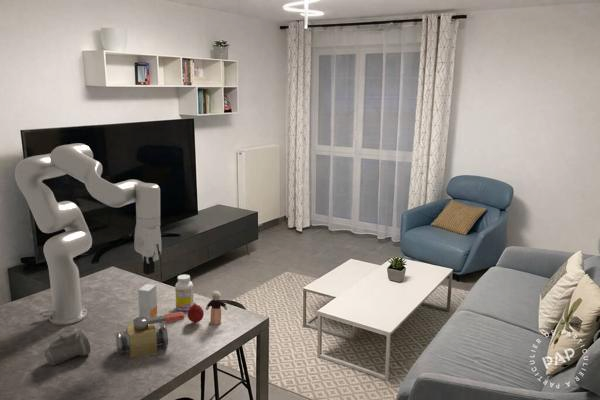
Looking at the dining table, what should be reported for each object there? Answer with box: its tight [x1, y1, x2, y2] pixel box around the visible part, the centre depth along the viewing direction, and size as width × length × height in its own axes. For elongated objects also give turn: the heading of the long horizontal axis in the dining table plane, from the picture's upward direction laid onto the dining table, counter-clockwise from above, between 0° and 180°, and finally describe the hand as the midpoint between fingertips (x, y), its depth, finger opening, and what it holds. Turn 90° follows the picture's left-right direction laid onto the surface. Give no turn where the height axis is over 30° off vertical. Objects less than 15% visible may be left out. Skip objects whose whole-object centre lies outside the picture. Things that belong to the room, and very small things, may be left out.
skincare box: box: [137, 283, 158, 318], centre depth 177 cm, size 6×4×12 cm
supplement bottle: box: [175, 274, 195, 312], centre depth 185 cm, size 7×7×13 cm
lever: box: [132, 311, 185, 330], centre depth 157 cm, size 16×5×2 cm, turn 113°
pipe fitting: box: [44, 325, 91, 367], centre depth 149 cm, size 12×8×10 cm
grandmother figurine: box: [205, 290, 228, 326], centre depth 174 cm, size 8×4×13 cm, turn 102°
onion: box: [186, 302, 205, 324], centre depth 174 cm, size 6×6×8 cm
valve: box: [115, 322, 169, 359], centre depth 156 cm, size 15×8×8 cm, turn 115°
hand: (148, 272), depth 162 cm, fingers closed
